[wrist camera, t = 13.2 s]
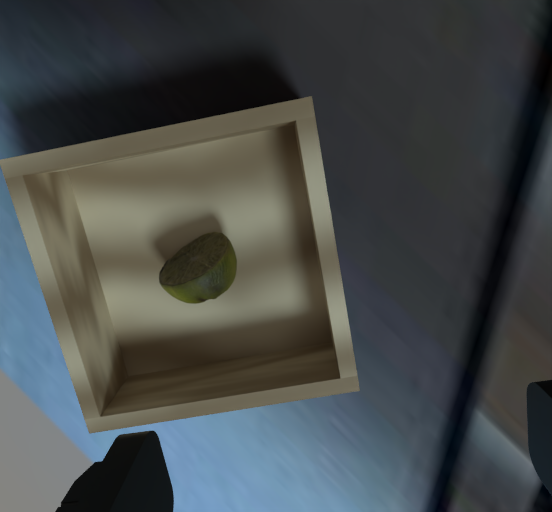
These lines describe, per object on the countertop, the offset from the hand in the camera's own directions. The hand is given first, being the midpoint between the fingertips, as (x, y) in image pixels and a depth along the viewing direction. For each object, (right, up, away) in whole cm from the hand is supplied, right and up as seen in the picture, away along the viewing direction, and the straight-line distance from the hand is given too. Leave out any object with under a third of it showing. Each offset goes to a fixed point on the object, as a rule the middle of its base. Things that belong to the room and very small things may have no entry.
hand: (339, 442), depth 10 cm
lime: (-6, +4, +20) cm, 22 cm away
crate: (-6, +4, +21) cm, 23 cm away
